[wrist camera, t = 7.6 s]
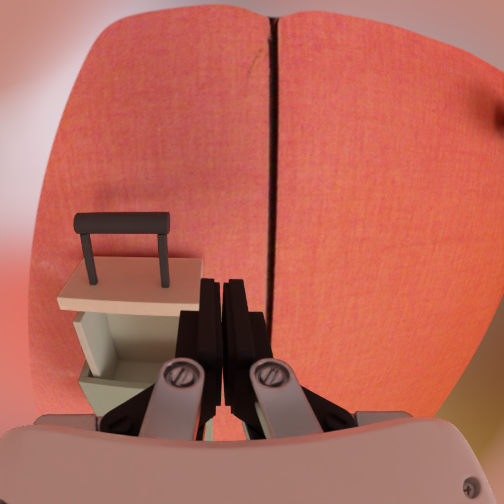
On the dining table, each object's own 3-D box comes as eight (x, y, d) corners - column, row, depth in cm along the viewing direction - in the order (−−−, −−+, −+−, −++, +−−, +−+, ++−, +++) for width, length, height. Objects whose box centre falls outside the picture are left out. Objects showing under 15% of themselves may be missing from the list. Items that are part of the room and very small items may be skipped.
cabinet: (99, 323, 30) (77, 381, 22) (209, 328, 32) (210, 392, 24) (125, 399, 36) (116, 448, 29) (211, 403, 38) (214, 455, 30)
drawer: (75, 195, 22) (38, 225, 16) (203, 193, 24) (199, 225, 18) (110, 356, 31) (98, 401, 25) (204, 361, 33) (205, 409, 27)
